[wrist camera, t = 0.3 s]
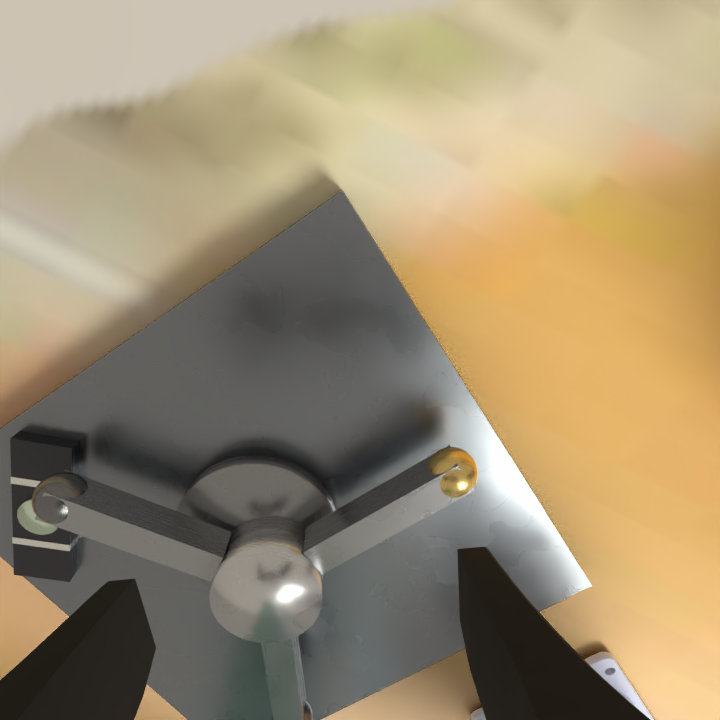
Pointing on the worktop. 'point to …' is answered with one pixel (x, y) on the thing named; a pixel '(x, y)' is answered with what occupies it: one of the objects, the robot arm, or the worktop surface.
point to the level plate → (291, 443)
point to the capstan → (258, 540)
